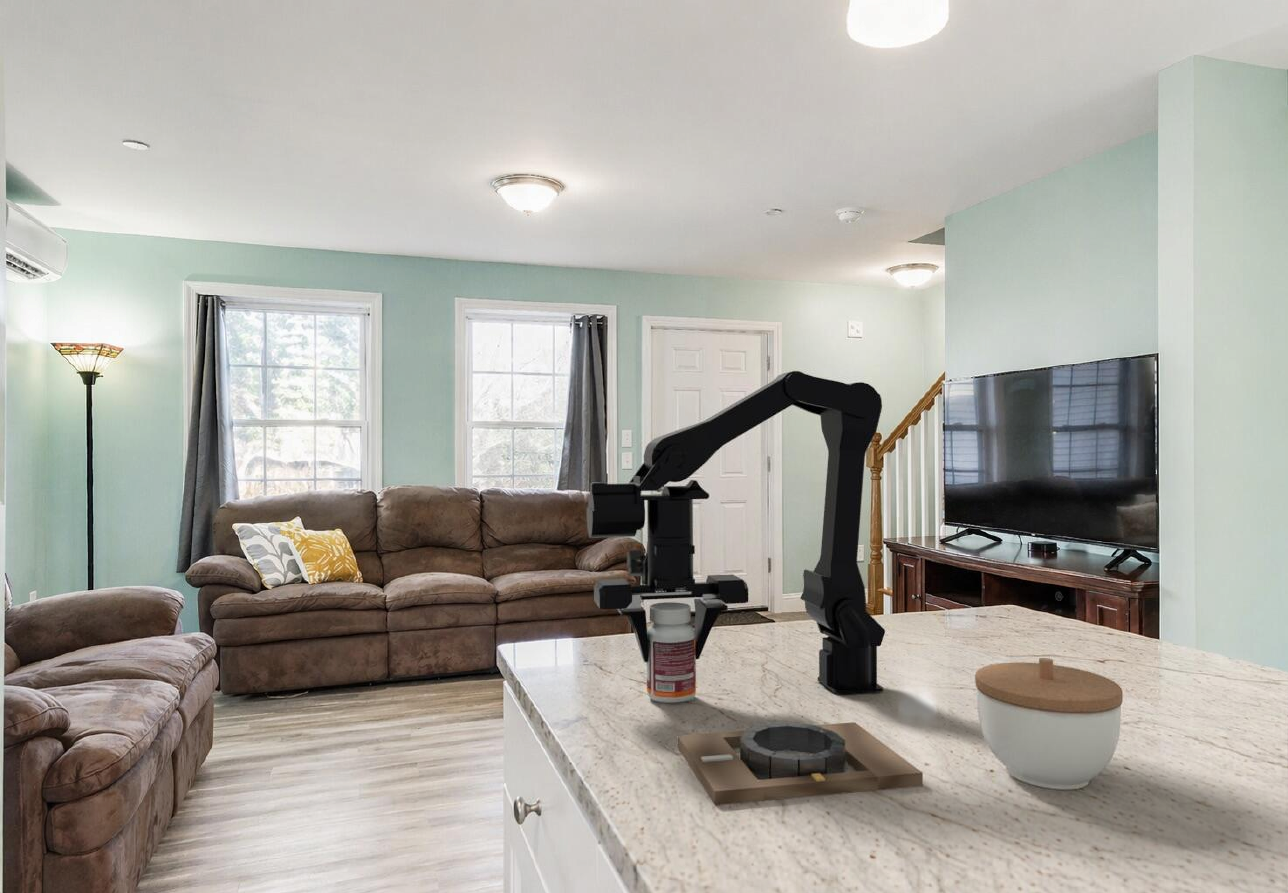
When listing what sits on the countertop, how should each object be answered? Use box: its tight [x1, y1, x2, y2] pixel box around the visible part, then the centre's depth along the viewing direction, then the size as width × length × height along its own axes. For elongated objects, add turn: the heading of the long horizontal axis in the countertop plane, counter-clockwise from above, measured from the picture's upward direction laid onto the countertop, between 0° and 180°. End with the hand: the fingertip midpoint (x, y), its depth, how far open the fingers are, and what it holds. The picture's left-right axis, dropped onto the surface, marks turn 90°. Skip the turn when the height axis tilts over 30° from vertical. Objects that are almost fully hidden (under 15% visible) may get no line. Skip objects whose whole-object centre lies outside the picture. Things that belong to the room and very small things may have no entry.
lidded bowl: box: [974, 657, 1124, 791], centre depth 77 cm, size 13×13×11 cm
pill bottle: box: [646, 601, 697, 704], centre depth 101 cm, size 6×6×11 cm
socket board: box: [677, 721, 924, 806], centre depth 80 cm, size 20×14×2 cm
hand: (671, 660), depth 101 cm, fingers closed on pill bottle, 6 cm apart
